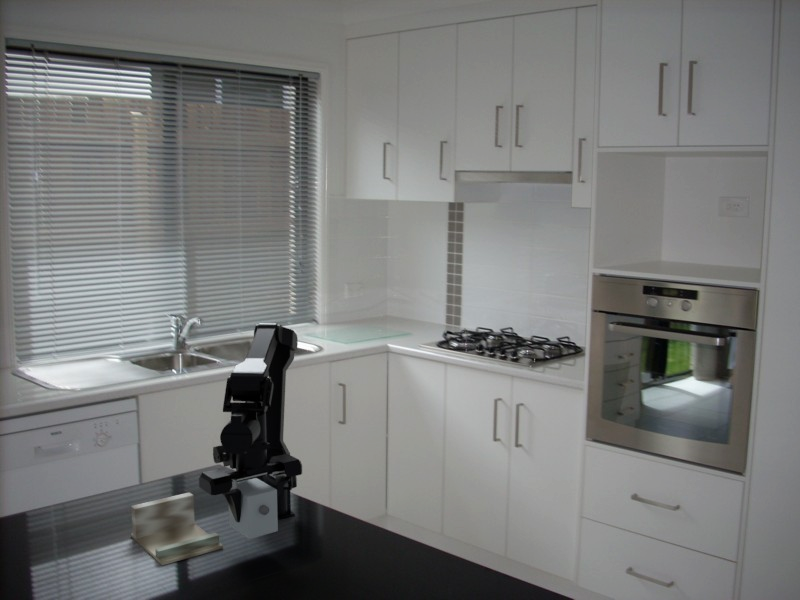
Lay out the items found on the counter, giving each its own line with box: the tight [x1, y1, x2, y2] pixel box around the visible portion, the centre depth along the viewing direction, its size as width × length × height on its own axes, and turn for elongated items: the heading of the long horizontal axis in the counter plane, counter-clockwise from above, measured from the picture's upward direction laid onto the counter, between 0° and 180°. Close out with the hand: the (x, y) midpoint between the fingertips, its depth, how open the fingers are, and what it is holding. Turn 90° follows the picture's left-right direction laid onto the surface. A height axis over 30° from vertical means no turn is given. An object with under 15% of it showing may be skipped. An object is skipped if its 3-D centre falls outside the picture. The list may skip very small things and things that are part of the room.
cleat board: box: [130, 491, 224, 566], centre depth 165 cm, size 12×16×7 cm
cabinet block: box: [227, 478, 279, 540], centre depth 159 cm, size 6×9×8 cm, turn 37°
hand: (252, 517), depth 160 cm, fingers closed on cabinet block, 6 cm apart
